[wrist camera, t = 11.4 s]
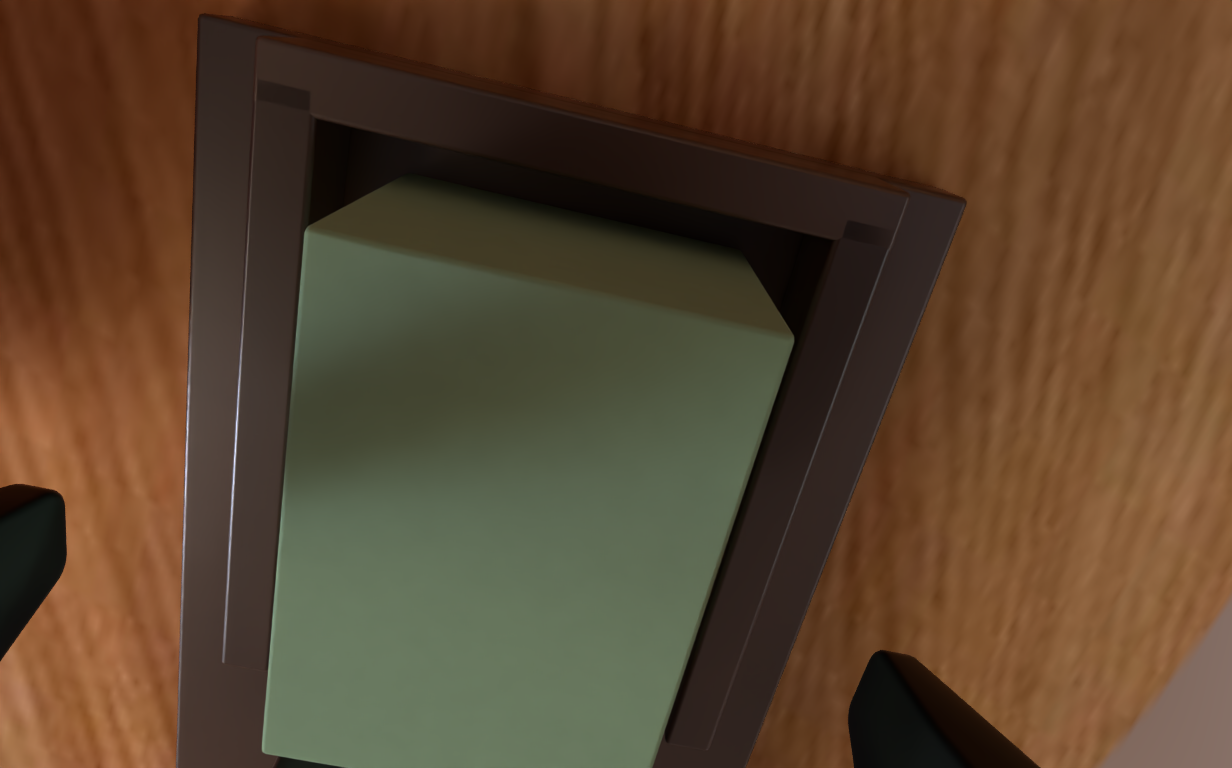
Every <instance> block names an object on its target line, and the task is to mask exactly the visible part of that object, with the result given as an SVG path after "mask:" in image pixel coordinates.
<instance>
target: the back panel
mask: <svg viewBox="0 0 1232 768" xmlns="http://www.w3.org/2000/svg"><path fill="white" fill-rule="evenodd" d="M408 173H412V174H416V175H420V176H424V177H429V178H433V179H437V180H442V181H446V182H450V183H455V184H459V185H463V186H467V187H472V188H476V189H480V190H485V191H489V192H493V193H498V194H502V195H506V196H510V197H515V198H519V199H523V200H528V201H532V202H536V203H541V204H545V205H549V206H553V207H558V208H562V209H566V210H571V211H575V212H579V213H584V214H588V215H592V216H596V217H601V218H605V219H609V220H614V221H618V222H622V223H627V224H631V225H635V226H639V227H644V228H648V229H652V230H657V231H661V232H665V233H670V234H674V235H678V236H682V237H687V238H691V239H695V240H700V241H704V242H708V243H713V244H717V245H721V246H725V247H730V248H734V249H738V250H740V251H741V252H742V253H743V255H744V256H745V258H746V260H747V261H748V263H749V265H750V266H751V268H752V269H753V271H754V273H755V274H756V276H757V277H758V279H759V281H760V282H761V284H762V285H763V287H764V289H765V290H766V292H767V294H768V295H769V297H770V298H771V300H772V302H773V303H774V305H775V306H776V308H777V310H778V311H779V313H780V314H781V316H782V318H783V319H784V321H785V323H786V324H787V326H788V327H789V329H790V331H791V332H792V334H793V335H794V344H793V347H792V350H791V353H790V356H789V359H788V362H787V365H786V368H785V371H784V374H783V377H782V380H781V383H780V386H779V389H778V392H777V395H776V398H775V401H774V404H773V407H772V410H771V413H770V416H769V419H768V422H767V425H766V428H765V431H764V434H763V437H762V440H761V443H760V446H759V449H758V452H757V455H756V458H755V461H754V464H753V467H752V470H751V473H750V476H749V479H748V482H747V485H746V488H745V491H744V494H743V497H742V500H741V503H740V506H739V509H738V512H737V515H736V518H735V521H734V524H733V527H732V530H731V533H730V536H729V539H728V542H727V545H726V548H725V551H724V554H723V557H722V560H721V563H720V566H719V569H718V572H717V575H716V578H715V581H714V584H713V587H712V590H711V593H710V596H709V599H708V602H707V605H706V608H705V611H704V614H703V617H702V620H701V623H700V626H699V629H698V632H697V635H696V638H695V641H694V644H693V647H692V650H691V653H690V656H689V659H688V662H687V665H686V668H685V671H684V674H683V677H682V680H681V683H680V686H679V689H678V692H677V695H676V698H675V701H674V704H673V707H672V710H671V713H670V716H669V719H668V722H667V725H666V728H665V731H664V734H663V737H662V740H661V743H660V746H659V749H658V752H657V755H656V758H655V761H654V764H653V767H652V768H746V766H747V763H748V761H749V758H750V755H751V753H752V750H753V748H754V745H755V743H756V740H757V738H758V735H759V733H760V730H761V727H762V725H763V722H764V720H765V717H766V715H767V712H768V710H769V707H770V704H771V702H772V699H773V697H774V694H775V692H776V689H777V687H778V684H779V681H780V679H781V676H782V674H783V671H784V669H785V666H786V664H787V661H788V659H789V656H790V653H791V651H792V648H793V646H794V643H795V641H796V638H797V636H798V633H799V630H800V628H801V625H802V623H803V620H804V618H805V615H806V613H807V610H808V608H809V605H810V602H811V600H812V597H813V595H814V592H815V590H816V587H817V585H818V582H819V579H820V577H821V574H822V572H823V569H824V567H825V564H826V562H827V559H828V557H829V554H830V551H831V549H832V546H833V544H834V541H835V539H836V536H837V534H838V531H839V528H840V526H841V523H842V521H843V518H844V516H845V513H846V511H847V508H848V506H849V503H850V500H851V498H852V495H853V493H854V490H855V488H856V485H857V483H858V480H859V477H860V475H861V472H862V470H863V467H864V465H865V462H866V460H867V457H868V454H869V452H870V449H871V447H872V444H873V442H874V439H875V437H876V434H877V432H878V429H879V426H880V424H881V421H882V419H883V416H884V414H885V411H886V409H887V406H888V403H889V401H890V398H891V396H892V393H893V391H894V388H895V386H896V383H897V381H898V378H899V375H900V373H901V370H902V368H903V365H904V363H905V360H906V358H907V355H908V352H909V350H910V347H911V345H912V342H913V340H914V337H915V335H916V332H917V330H918V327H919V324H920V322H921V319H922V317H923V314H924V312H925V309H926V307H927V304H928V301H929V299H930V296H931V294H932V291H933V289H934V286H935V284H936V281H937V279H938V276H939V273H940V271H941V268H942V266H943V263H944V261H945V258H946V256H947V253H948V250H949V248H950V245H951V243H952V240H953V238H954V235H955V233H956V230H957V227H958V225H959V222H960V220H961V217H962V215H963V212H964V210H965V207H966V202H967V201H966V200H965V199H964V198H963V197H960V196H958V195H955V194H953V193H951V192H948V191H946V190H943V189H940V188H936V187H932V186H928V185H924V184H919V183H915V182H911V181H907V180H903V179H899V178H895V177H891V176H887V175H882V174H878V173H874V172H870V171H866V170H862V169H858V168H854V167H850V166H845V165H841V164H837V163H833V162H829V161H825V160H821V159H817V158H813V157H808V156H804V155H800V154H796V153H792V152H788V151H784V150H780V149H776V148H771V147H767V146H763V145H759V144H755V143H751V142H747V141H743V140H739V139H734V138H730V137H726V136H722V135H718V134H714V133H710V132H706V131H702V130H697V129H693V128H689V127H685V126H681V125H677V124H673V123H669V122H665V121H660V120H656V119H652V118H648V117H644V116H640V115H636V114H632V113H628V112H623V111H619V110H615V109H611V108H607V107H603V106H599V105H595V104H591V103H586V102H582V101H578V100H574V99H570V98H566V97H562V96H558V95H554V94H550V93H545V92H541V91H537V90H533V89H529V88H525V87H521V86H517V85H513V84H508V83H504V82H500V81H496V80H492V79H488V78H484V77H480V76H476V75H471V74H467V73H463V72H459V71H455V70H451V69H447V68H443V67H439V66H434V65H430V64H426V63H422V62H418V61H414V60H410V59H406V58H402V57H397V56H393V55H389V54H385V53H381V52H377V51H373V50H369V49H365V48H360V47H356V46H352V45H348V44H344V43H340V42H336V41H332V40H328V39H323V38H319V37H315V36H311V35H307V34H303V33H299V32H295V31H291V30H286V29H282V28H278V27H274V26H270V25H266V24H262V23H258V22H254V21H249V20H245V19H241V18H237V17H233V16H224V15H215V14H206V13H205V14H200V15H199V17H198V31H197V65H196V100H195V134H194V168H193V203H192V237H191V272H190V306H189V341H188V375H187V410H186V444H185V479H184V513H183V548H182V582H181V617H180V651H179V686H178V720H177V755H176V768H345V767H339V766H334V765H328V764H322V763H316V762H310V761H305V760H299V759H293V758H287V757H281V756H276V755H270V754H265V753H264V752H263V751H262V738H263V726H264V714H265V702H266V690H267V678H268V666H269V654H270V642H271V630H272V618H273V606H274V594H275V582H276V570H277V558H278V546H279V534H280V522H281V510H282V498H283V486H284V474H285V461H286V449H287V437H288V425H289V413H290V401H291V389H292V377H293V365H294V353H295V341H296V329H297V317H298V305H299V293H300V281H301V269H302V257H303V245H304V233H305V230H306V228H307V227H308V226H309V225H311V224H313V223H315V222H317V221H319V220H321V219H323V218H324V217H326V216H328V215H330V214H332V213H334V212H336V211H338V210H339V209H341V208H343V207H345V206H347V205H349V204H351V203H353V202H354V201H356V200H358V199H360V198H362V197H364V196H366V195H367V194H369V193H371V192H373V191H375V190H377V189H379V188H381V187H382V186H384V185H386V184H388V183H390V182H392V181H394V180H396V179H397V178H399V177H401V176H403V175H405V174H408Z"/></svg>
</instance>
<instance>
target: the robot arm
mask: <svg viewBox="0 0 1232 768" xmlns="http://www.w3.org/2000/svg"><path fill="white" fill-rule="evenodd" d="M66 556H67V548H66V520H65V503H64V499H63V497H62V495H61V494H60V493H58V492H57V491H55V490H51V489H46V488H41V487H36V486H30V485H25V484H14V485H9V486H6V487H2V488H0V661H1V660H2V658H3V657H4V655H5V654H6V652H7V651H8V650H9V648H10V647H11V645H12V644H13V643H14V641H15V640H16V638H17V637H18V636H19V634H20V633H21V631H22V630H23V629H24V627H25V626H26V624H27V623H28V622H29V620H30V619H31V617H32V616H33V615H34V613H35V612H36V610H37V609H38V608H39V606H40V605H41V603H42V602H43V601H44V599H45V598H46V596H47V595H48V594H49V592H50V591H51V589H52V588H53V587H54V585H55V584H56V582H57V581H58V579H59V578H60V576H61V574H62V572H63V569H64V566H65V563H66ZM848 726H849V734H850V741H851V748H852V755H853V763H854V768H1040V767H1039V766H1038V765H1037V764H1036V763H1034V762H1033V761H1032V760H1031V759H1030V758H1029V757H1028V756H1027V755H1025V754H1024V753H1023V752H1022V751H1021V750H1020V749H1019V748H1017V747H1016V746H1015V745H1014V744H1013V743H1012V742H1011V741H1009V740H1008V739H1007V738H1006V737H1005V736H1004V735H1003V734H1001V733H1000V732H999V731H998V730H997V729H996V728H995V727H993V726H992V725H991V724H990V723H989V722H988V721H987V720H985V719H984V718H983V717H982V716H981V715H980V714H979V713H977V712H976V711H975V710H974V709H973V708H972V707H971V706H970V705H968V704H967V703H966V702H965V701H964V700H963V699H962V698H960V697H959V696H958V695H957V694H956V693H955V692H954V691H952V690H951V689H950V688H949V687H948V686H947V685H946V684H944V683H943V682H942V681H941V680H940V679H939V678H938V677H936V676H935V675H934V674H933V673H932V672H931V671H930V670H928V669H927V668H926V667H925V666H924V665H923V664H922V663H920V662H919V661H918V660H917V659H916V658H914V657H913V656H910V655H907V654H901V653H896V652H891V651H886V650H880V651H877V652H875V653H874V654H873V655H872V657H871V658H870V660H869V662H868V664H867V667H866V669H865V671H864V673H863V676H862V678H861V680H860V683H859V685H858V687H857V689H856V692H855V694H854V696H853V699H852V701H851V704H850V708H849V714H848Z"/></svg>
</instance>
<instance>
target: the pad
mask: <svg viewBox="0 0 1232 768" xmlns="http://www.w3.org/2000/svg"><path fill="white" fill-rule="evenodd" d="M793 344H794V335H793V334H792V332H791V331H790V329H789V327H788V326H787V324H786V323H785V321H784V319H783V318H782V316H781V314H780V313H779V311H778V310H777V308H776V306H775V305H774V303H773V302H772V300H771V298H770V297H769V295H768V294H767V292H766V290H765V289H764V287H763V285H762V284H761V282H760V281H759V279H758V277H757V276H756V274H755V273H754V271H753V269H752V268H751V266H750V265H749V263H748V261H747V260H746V258H745V256H744V255H743V253H742V252H741V251H740V250H738V249H734V248H730V247H725V246H721V245H717V244H713V243H708V242H704V241H700V240H695V239H691V238H687V237H682V236H678V235H674V234H670V233H665V232H661V231H657V230H652V229H648V228H644V227H639V226H635V225H631V224H627V223H622V222H618V221H614V220H609V219H605V218H601V217H596V216H592V215H588V214H584V213H579V212H575V211H571V210H566V209H562V208H558V207H553V206H549V205H545V204H541V203H536V202H532V201H528V200H523V199H519V198H515V197H510V196H506V195H502V194H498V193H493V192H489V191H485V190H480V189H476V188H472V187H467V186H463V185H459V184H455V183H450V182H446V181H442V180H437V179H433V178H429V177H424V176H420V175H416V174H412V173H408V174H405V175H403V176H401V177H399V178H397V179H396V180H394V181H392V182H390V183H388V184H386V185H384V186H382V187H381V188H379V189H377V190H375V191H373V192H371V193H369V194H367V195H366V196H364V197H362V198H360V199H358V200H356V201H354V202H353V203H351V204H349V205H347V206H345V207H343V208H341V209H339V210H338V211H336V212H334V213H332V214H330V215H328V216H326V217H324V218H323V219H321V220H319V221H317V222H315V223H313V224H311V225H309V226H308V227H307V228H306V230H305V233H304V245H303V257H302V269H301V281H300V293H299V305H298V317H297V329H296V341H295V353H294V365H293V377H292V389H291V401H290V413H289V425H288V437H287V449H286V461H285V474H284V486H283V498H282V510H281V522H280V534H279V546H278V558H277V570H276V582H275V594H274V606H273V618H272V630H271V642H270V654H269V666H268V678H267V690H266V702H265V714H264V726H263V738H262V751H263V752H264V753H265V754H270V755H276V756H281V757H287V758H293V759H299V760H305V761H310V762H316V763H322V764H328V765H334V766H339V767H345V768H652V767H653V764H654V761H655V758H656V755H657V752H658V749H659V746H660V743H661V740H662V737H663V734H664V731H665V728H666V725H667V722H668V719H669V716H670V713H671V710H672V707H673V704H674V701H675V698H676V695H677V692H678V689H679V686H680V683H681V680H682V677H683V674H684V671H685V668H686V665H687V662H688V659H689V656H690V653H691V650H692V647H693V644H694V641H695V638H696V635H697V632H698V629H699V626H700V623H701V620H702V617H703V614H704V611H705V608H706V605H707V602H708V599H709V596H710V593H711V590H712V587H713V584H714V581H715V578H716V575H717V572H718V569H719V566H720V563H721V560H722V557H723V554H724V551H725V548H726V545H727V542H728V539H729V536H730V533H731V530H732V527H733V524H734V521H735V518H736V515H737V512H738V509H739V506H740V503H741V500H742V497H743V494H744V491H745V488H746V485H747V482H748V479H749V476H750V473H751V470H752V467H753V464H754V461H755V458H756V455H757V452H758V449H759V446H760V443H761V440H762V437H763V434H764V431H765V428H766V425H767V422H768V419H769V416H770V413H771V410H772V407H773V404H774V401H775V398H776V395H777V392H778V389H779V386H780V383H781V380H782V377H783V374H784V371H785V368H786V365H787V362H788V359H789V356H790V353H791V350H792V347H793Z"/></svg>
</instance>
